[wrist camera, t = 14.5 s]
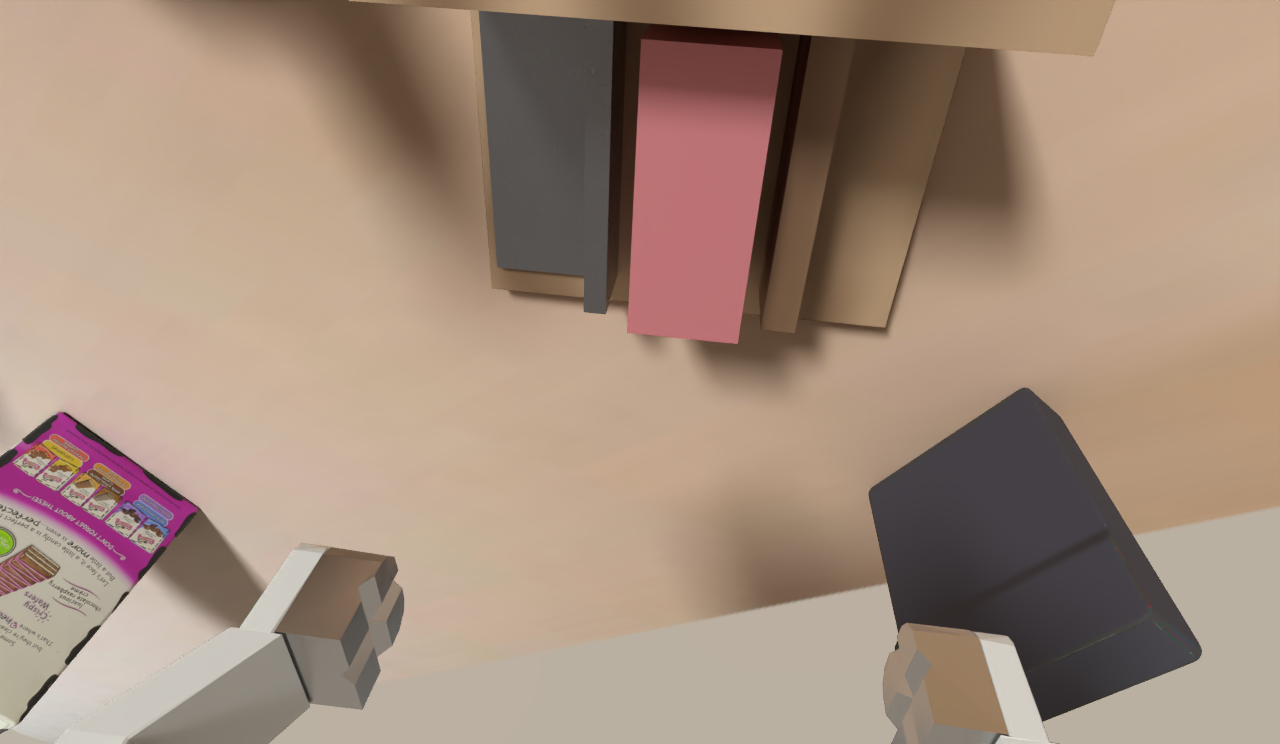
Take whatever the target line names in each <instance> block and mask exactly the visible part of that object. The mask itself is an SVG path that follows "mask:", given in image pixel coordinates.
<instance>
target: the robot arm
mask: <svg viewBox="0 0 1280 744" xmlns="http://www.w3.org/2000/svg"><path fill="white" fill-rule="evenodd" d="M397 572H398V568H397V565H396V561H395V557H392V556H385V555H379V554H372V553H366V552H359V551H353V550H347V549H340V548H334V547H328V546H320V545H313V544H306V543H301V544H300V545H299V546H297V547H296V548H295V549H293V550H292V551H291V553H290V554H289V556H288V557H287V559H286V560H285V562H284V563H283V564H282V566H281V567H280V569H279V570H278V572H277V573H276V575H275V576H274V578H273V579H272V581H271V582H270V583H269V585H268V586H267V588H266V589H265V591H264V592H263V594H262V595H261V597H260V598H259V600H258V601H257V603H256V604H255V605H254V607H253V608H252V610H251V611H250V613H249V614H248V616H247V617H246V619H245V620H244V622H243V623H242V625H241V626H240V627H239V628H236V627H229V628H228V629H226V630H225V631H223V632H221V633H220V634H218V635H216V636H215V637H213V638H212V639H210V640H208V641H207V642H205V643H204V644H202V645H200V646H199V647H197V648H196V649H194V650H192V651H191V652H189V653H188V654H186V655H184V656H183V657H181V658H180V659H178V660H176V661H175V662H173V663H172V664H170V665H168V666H167V667H165V668H164V669H162V670H160V671H159V672H157V673H156V674H154V675H152V676H151V677H149V678H147V679H146V680H144V681H143V682H141V683H139V684H138V685H136V686H135V687H133V688H131V689H130V690H128V691H127V692H125V693H123V694H122V695H120V696H119V697H117V698H115V699H114V700H112V701H111V702H109V703H107V704H106V705H104V706H103V707H101V708H99V709H98V710H96V711H95V712H93V713H91V714H90V715H88V716H86V717H85V718H83V719H82V720H80V721H78V722H77V723H75V724H74V725H72V726H70V727H69V728H67V729H66V730H65V731H64V732H63V734H62V735H61V736H60V737H59V739H58V740H57V741H56V742H55V744H269V743H270V742H271V741H272V740H273V739H274V738H275V737H276V736H277V735H279V734H280V733H281V732H282V731H283V730H284V729H286V728H287V727H288V726H289V725H290V724H291V723H292V722H294V721H295V720H296V719H297V718H298V717H299V716H300V715H301V714H302V713H304V712H305V711H306V710H307V709H308V708H309V707H310V704H309V703H311V704H320V705H328V706H336V707H345V708H354V709H361V710H362V709H363V707H364V705H365V703H366V701H367V699H368V697H369V695H370V692H371V690H372V688H373V686H374V684H375V682H376V680H377V677H378V675H379V673H380V671H381V670H380V667H379V663H378V659H377V657H378V656H379V655H380V654H382V653H383V652H384V651H386V650H387V649H388V648H390V647H391V646H392V645H393V643H394V640H395V638H396V636H397V634H398V631H399V629H400V625H401V620H402V616H403V612H404V595H403V590H402V588H401V587H400V586H399V585H398V584H397V583H396V582H395V581H394V578H395V576H396V574H397ZM897 639H898V644H899V649H897V650H896V651H894V652H892V653H890V654H889V657H888V659H887V662H886V665H885V669H884V678H883V695H884V696H883V697H884V704H885V711H886V715H887V717H888V718H889V719H890V720H891V721H892V723H893V724H894V725H895V726H896V728H897V729H898V730H897V733H896V735H895V737H894V739H893V741H892V743H891V744H1058V743H1053V742H1050V741H1049V738H1048V736H1047V733H1046V730H1045V728H1044V725H1043V722H1042V719H1041V717H1040V714H1039V711H1038V708H1037V706H1036V703H1035V700H1034V698H1033V695H1032V692H1031V689H1030V687H1029V684H1028V681H1027V678H1026V676H1025V673H1024V670H1023V667H1022V665H1021V662H1020V659H1019V657H1018V654H1017V651H1016V648H1015V646H1014V643H1013V642H1012V641H1011V639H1010V638H1009V637H1008V636H1004V635H998V634H989V633H981V632H971V631H970V630H964V629H956V628H947V627H938V626H930V625H921V624H913V623H906V624H904V625H903V626H901V629H900V631H899V633H898V635H897Z"/></svg>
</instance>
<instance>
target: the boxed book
mask: <svg viewBox="0 0 1280 744" xmlns="http://www.w3.org/2000/svg"><path fill="white" fill-rule="evenodd" d="M782 53H783V48H782V45H781V41H780V38H779V34H778V33H773V32H760V31H746V30H733V29H719V28H706V27H693V26H679V25H666V24H652V23H651V24H650V26H649V27H648V29H647V31H646V32H645V34H644V35H643V37H642V39H641V53H640V74H639V95H638V116H637V137H636V159H635V180H634V201H633V222H632V243H631V264H630V285H629V306H628V327H627V333H635V334H645V335H655V336H664V337H674V338H684V339H694V340H703V341H713V342H723V343H733V344H738V339H739V332H740V326H741V319H742V313H743V306H744V300H745V293H746V287H747V280H748V274H749V267H750V261H751V254H752V248H753V241H754V235H755V228H756V222H757V215H758V209H759V202H760V196H761V189H762V183H763V176H764V170H765V163H766V157H767V150H768V144H769V137H770V131H771V124H772V118H773V111H774V105H775V98H776V92H777V85H778V79H779V72H780V66H781V59H782Z"/></svg>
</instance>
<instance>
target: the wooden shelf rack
mask: <svg viewBox="0 0 1280 744" xmlns="http://www.w3.org/2000/svg"><path fill="white" fill-rule="evenodd" d="M349 1H357V2H370V3H384V4H397V5H411V6H424V7H437V8H451V9H464V10H471V23H472V35H473V48H474V61H475V74H476V87H477V100H478V113H479V125H480V138H481V151H482V164H483V177H484V190H485V203H486V216H487V228H488V241H489V254H490V267H491V280H492V288H493V289H503V290H513V291H523V292H533V293H543V294H553V295H563V296H573V297H583V298H584V276H580V275H570V274H560V273H550V272H540V271H529V270H519V269H509V268H499V267H497V259H496V245H495V232H494V218H493V204H492V190H491V176H490V162H489V148H488V134H487V120H486V106H485V92H484V78H483V65H482V51H481V37H480V23H479V11H491V12H505V13H518V14H531V15H545V16H558V17H572V18H585V19H599V20H612V21H625V22H627V34H626V61H625V89H624V116H623V144H622V172H621V199H620V227H619V254H618V275H617V279H616V282H615V285H614V288H613V292H612V295H611V298H610V300H613V301H623V302H629V285H630V264H631V243H632V222H633V201H634V180H635V159H636V137H637V116H638V95H639V74H640V53H641V39H642V37H643V35H644V34H645V32H646V31H647V29H648V27H649V26H650V24H651V23H652V24H666V25H679V26H693V27H706V28H719V29H733V30H746V31H760V32H773V33H778V34H779V38H780V41H781V45H782V48H783V53H782V59H781V66H780V72H779V79H778V85H777V92H776V98H775V105H774V111H773V118H772V124H771V131H770V137H769V144H768V150H767V157H766V163H765V170H764V176H763V183H762V189H761V196H760V202H759V209H758V215H757V222H756V228H755V235H754V241H753V248H752V254H751V261H750V267H749V274H748V280H747V287H746V293H745V300H744V306H743V313H744V314H754V315H760V322H761V330H766V331H776V332H786V333H795V330H796V325H797V320H798V319H804V320H814V321H824V322H834V323H844V324H854V325H864V326H874V327H884V328H885V326H886V322H887V319H888V315H889V312H890V309H891V305H892V302H893V298H894V295H895V291H896V288H897V284H898V281H899V278H900V274H901V271H902V267H903V264H904V260H905V257H906V254H907V250H908V247H909V243H910V240H911V236H912V233H913V229H914V226H915V223H916V219H917V216H918V212H919V209H920V205H921V202H922V198H923V195H924V192H925V188H926V185H927V181H928V178H929V174H930V171H931V167H932V164H933V161H934V157H935V154H936V150H937V147H938V143H939V140H940V137H941V133H942V130H943V126H944V123H945V119H946V116H947V112H948V109H949V106H950V102H951V99H952V95H953V92H954V88H955V85H956V81H957V78H958V75H959V71H960V68H961V64H962V61H963V57H964V54H965V51H966V47H975V48H988V49H1001V50H1015V51H1028V52H1042V53H1055V54H1069V55H1082V56H1094V55H1095V52H1096V50H1097V47H1098V44H1099V42H1100V39H1101V37H1102V34H1103V32H1104V29H1105V26H1106V24H1107V21H1108V19H1109V16H1110V14H1111V11H1112V8H1113V6H1114V3H1115V1H1116V0H349Z"/></svg>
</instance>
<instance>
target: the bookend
mask: <svg viewBox="0 0 1280 744" xmlns="http://www.w3.org/2000/svg"><path fill="white" fill-rule="evenodd" d="M479 23H480V37H481V51H482V65H483V78H484V92H485V106H486V120H487V134H488V148H489V162H490V176H491V190H492V204H493V218H494V232H495V245H496V259H497V267H499V268H509V269H519V270H529V271H540V272H550V273H560V274H570V275H580V276H584V312H588V313H598V314H606V311H607V308H608V305H609V302H610V298H611V295H612V292H613V288H614V285H615V282H616V279H617V275H618V254H619V227H620V199H621V172H622V144H623V116H624V89H625V61H626V34H627V22H625V21H612V20H599V19H585V18H572V17H558V16H545V15H531V14H518V13H505V12H491V11H479Z"/></svg>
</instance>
